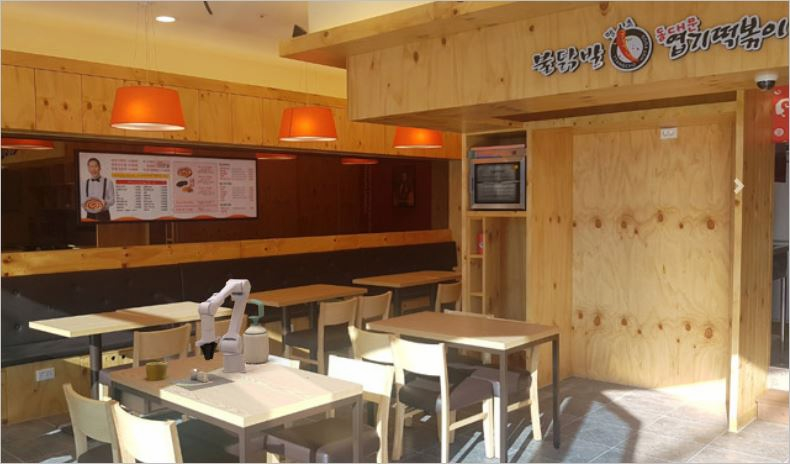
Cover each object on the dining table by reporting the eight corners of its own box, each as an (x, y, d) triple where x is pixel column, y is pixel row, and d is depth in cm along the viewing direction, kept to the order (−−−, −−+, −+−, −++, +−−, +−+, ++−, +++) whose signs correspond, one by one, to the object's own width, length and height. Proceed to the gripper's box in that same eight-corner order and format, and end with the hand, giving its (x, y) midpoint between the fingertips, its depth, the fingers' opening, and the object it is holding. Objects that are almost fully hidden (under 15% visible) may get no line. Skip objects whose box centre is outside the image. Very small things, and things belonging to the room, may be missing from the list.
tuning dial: (188, 378, 313) (188, 369, 313) (197, 377, 316) (197, 367, 316) (203, 383, 304) (203, 373, 304) (212, 381, 307) (212, 371, 307)
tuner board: (210, 375, 324) (210, 373, 324) (235, 383, 308) (235, 381, 308) (166, 384, 309) (166, 381, 309) (190, 393, 293) (190, 390, 293)
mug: (163, 379, 310) (158, 357, 312) (143, 386, 312) (138, 364, 314) (178, 378, 321) (173, 357, 323) (159, 384, 323) (154, 363, 326)
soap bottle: (251, 358, 358) (249, 297, 357) (273, 359, 355) (271, 298, 354) (239, 364, 346) (237, 301, 345) (262, 365, 343) (260, 301, 342)
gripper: (212, 326, 320) (213, 355, 320) (189, 331, 307) (190, 362, 307) (224, 327, 316) (225, 356, 317) (201, 332, 304) (202, 363, 304)
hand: (208, 359), depth 312 cm, fingers closed
